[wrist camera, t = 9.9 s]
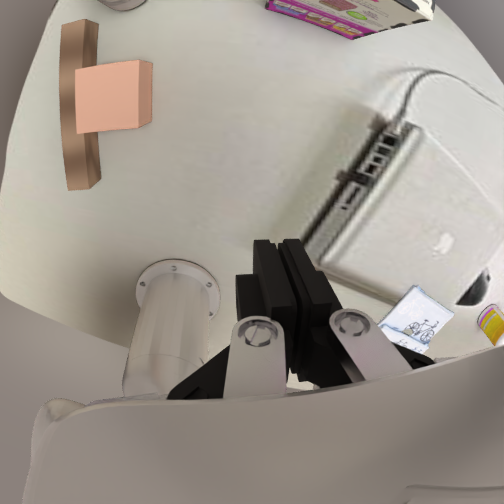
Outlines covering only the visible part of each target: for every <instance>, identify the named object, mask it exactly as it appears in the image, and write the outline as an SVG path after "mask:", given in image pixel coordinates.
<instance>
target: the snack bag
mask: <svg viewBox="0 0 504 504" xmlns="http://www.w3.org/2000/svg"><path fill="white" fill-rule="evenodd" d="M453 315H454V312H452V311H450V310H448V309H446V308H445V307H443V306H442V305H440V304H439V303H438V302H436V301H435V300H434V299H432V298H431V297H429V296H428V295H426V294H425V292H424V291H423V290H422V289H420V287H419V285H417V286H414V285H412V287H411V288H410V289H409V291H408V292H407V293H406V294H405V295H404V297H403V298H402V299H401V300H400V301H399V302H398V303H397V304H396V306H395V307H394V308H393V309H392V310H391V311H390V312H389V313H388V314H387V315H386V316H385V317H384V318H383V319H382V320H381V321H380V322H379V323H378V324H377V325H378V327H379V328H380V329H381V330H382V331H383V333H384V334H385V335H386V336H387V338H388V339H389V340H390V341H391V342H394V343H396V344H399V345H401V346H403V347H406V348H408V349H411V350H413V351H415V352H418V353H420V354H423V353H424V352H425V351H426V350H427V349H428V348H430V347H428V344H429V342H430V339H431V338H432V337H433V336H434V335H435V334H436V333H437V332H438V331H439V330H440V329H441V328H442V327H443V326H444V325H445V323H446V322H448V321H449V320H450V319H451V318H452V317H453ZM406 329H412V331H413V334H412V335H411V336H408V335H406V334H404V333H403V332H401V331H403V330H406Z"/></svg>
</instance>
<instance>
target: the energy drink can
mask: <svg viewBox="0 0 504 504" xmlns="http://www.w3.org/2000/svg"><path fill="white" fill-rule="evenodd" d="M98 1H100V2H101V3H103V4H105V5H106V6H108V7H110V8H112V9H114V10H119V11H124V10H129V9H132V8H135V7H137V6H138V5H140V4H141V3H143V2H144V1H145V0H98Z"/></svg>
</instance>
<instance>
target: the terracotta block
mask: <svg viewBox="0 0 504 504" xmlns="http://www.w3.org/2000/svg"><path fill="white" fill-rule="evenodd" d="M152 66H153V64H152V63H149V62H145V61H142V60H132V61H124V62H117V63H110V64H103V65H97V66H92V67H86V68H81V69H76V70H75V108H76V129H77V134H81V133H89V132H98V131H107V130H118V129H130V128H139V127H141V126H143V125H145V124H147V123H149V122H151V121H152Z"/></svg>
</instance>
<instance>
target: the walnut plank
mask: <svg viewBox="0 0 504 504" xmlns="http://www.w3.org/2000/svg"><path fill="white" fill-rule="evenodd" d="M98 25H99V24H97V23H95V22H92V21H89V20H87V19H82V20H78V21H75V22H71V23H67V24H64V25H62V29H61V43H60V65H59V98H60V121H61V136H62V147H63V157H64V165H65V173H66V180H67V187H68V191H70V190H85V189H90V188H91V187H92V186H93V185H95V184H96V183H97V182H98V181H99V180H100V179H101V171H100V161H99V149H98V134H97V132H89V133H81V134H77V129H76V108H75V70H76V69H81V68H86V67H92V66H96V59H97V38H98Z"/></svg>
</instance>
